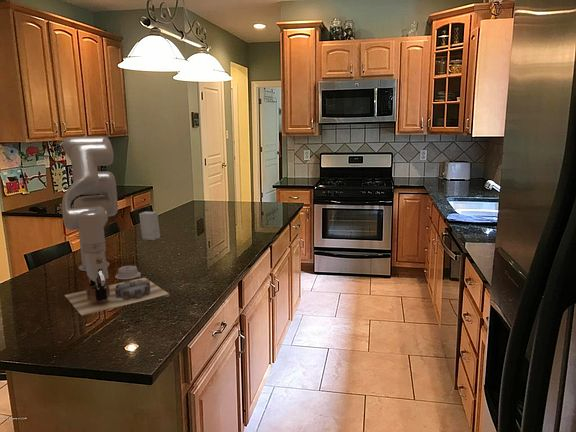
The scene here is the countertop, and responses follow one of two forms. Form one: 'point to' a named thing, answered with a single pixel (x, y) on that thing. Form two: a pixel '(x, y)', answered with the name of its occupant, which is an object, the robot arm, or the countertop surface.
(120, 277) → the mechanical component
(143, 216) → the skincare box
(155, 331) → the countertop surface
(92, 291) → the walnut gear
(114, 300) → the gear board
